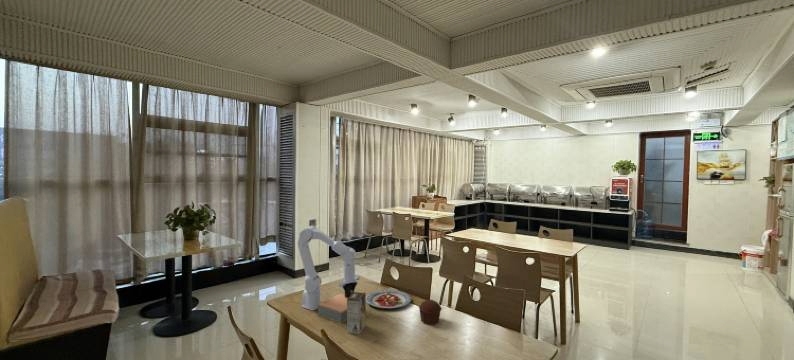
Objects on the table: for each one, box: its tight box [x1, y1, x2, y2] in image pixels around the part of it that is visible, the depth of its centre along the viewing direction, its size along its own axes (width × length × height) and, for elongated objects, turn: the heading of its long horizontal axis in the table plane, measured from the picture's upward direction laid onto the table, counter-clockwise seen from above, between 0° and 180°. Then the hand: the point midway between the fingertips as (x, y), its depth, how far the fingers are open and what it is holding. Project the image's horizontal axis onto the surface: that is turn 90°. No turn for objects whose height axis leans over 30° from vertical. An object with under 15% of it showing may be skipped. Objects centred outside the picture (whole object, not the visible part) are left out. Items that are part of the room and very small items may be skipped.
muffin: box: [418, 299, 443, 326], centre depth 167 cm, size 12×11×10 cm
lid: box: [318, 290, 355, 313], centre depth 175 cm, size 17×17×5 cm
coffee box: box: [346, 291, 367, 335], centre depth 158 cm, size 9×6×16 cm
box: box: [317, 306, 347, 324], centre depth 174 cm, size 16×16×5 cm
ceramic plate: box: [366, 289, 412, 309], centre depth 190 cm, size 26×26×3 cm
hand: (349, 296), depth 180 cm, fingers closed on lid, 2 cm apart
